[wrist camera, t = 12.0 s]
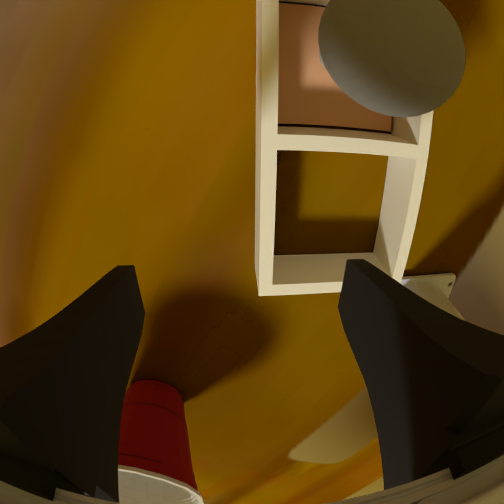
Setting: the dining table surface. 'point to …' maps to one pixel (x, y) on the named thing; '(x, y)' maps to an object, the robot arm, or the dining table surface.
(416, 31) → the light bulb
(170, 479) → the plastic cup
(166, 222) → the dining table surface
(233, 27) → the dining table surface
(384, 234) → the rack
